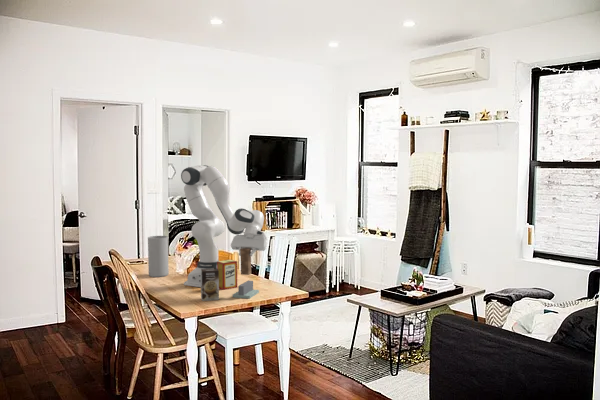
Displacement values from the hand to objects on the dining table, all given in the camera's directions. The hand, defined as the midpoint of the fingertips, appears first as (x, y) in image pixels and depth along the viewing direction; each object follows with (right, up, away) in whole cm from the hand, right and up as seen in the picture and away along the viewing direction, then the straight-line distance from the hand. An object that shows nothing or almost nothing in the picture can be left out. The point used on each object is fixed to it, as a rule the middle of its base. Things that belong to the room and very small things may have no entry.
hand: (245, 255), depth 303 cm
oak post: (0, -10, +1) cm, 10 cm away
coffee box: (-18, -23, -7) cm, 30 cm away
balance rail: (0, -22, +2) cm, 22 cm away
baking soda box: (-12, -21, +20) cm, 31 cm away
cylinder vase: (-62, -19, +54) cm, 84 cm away
